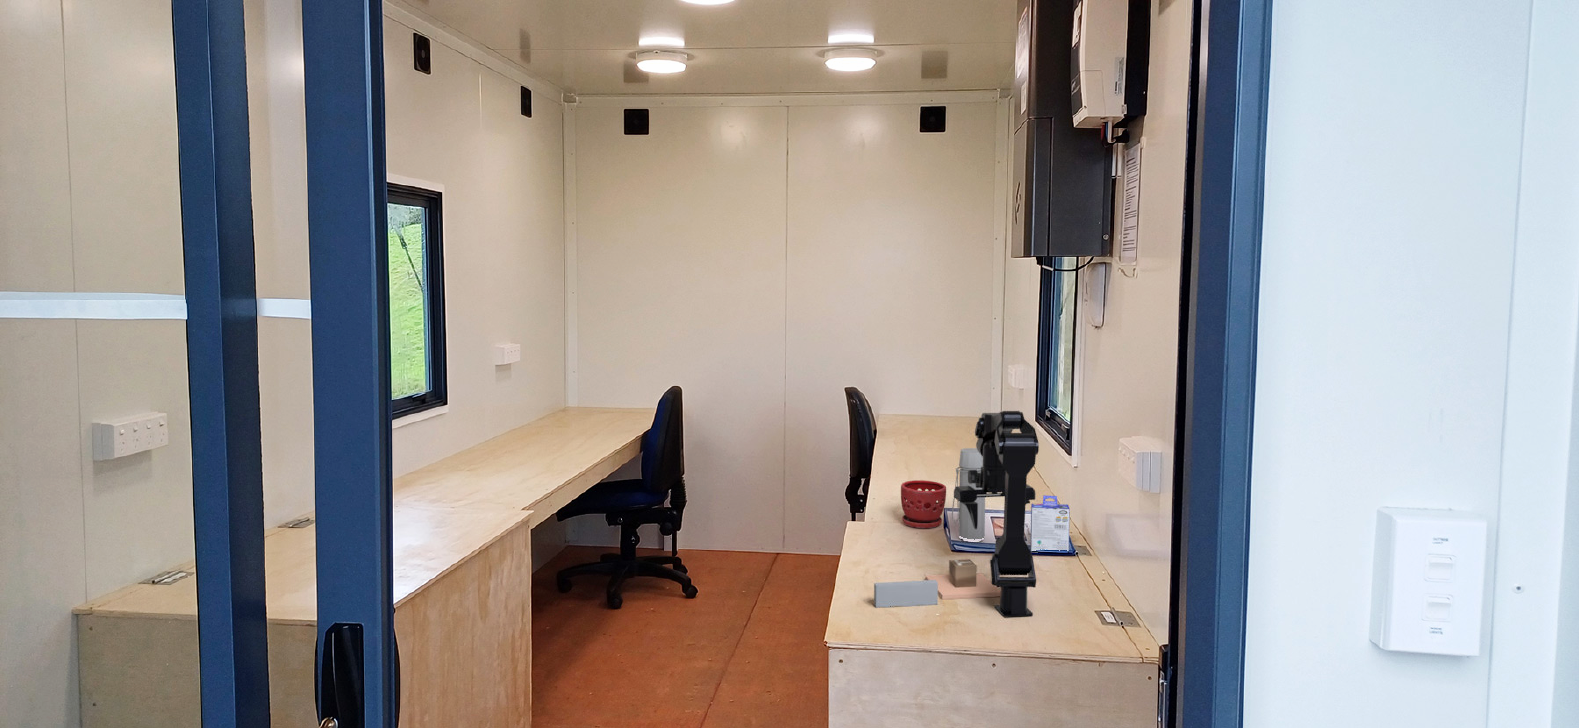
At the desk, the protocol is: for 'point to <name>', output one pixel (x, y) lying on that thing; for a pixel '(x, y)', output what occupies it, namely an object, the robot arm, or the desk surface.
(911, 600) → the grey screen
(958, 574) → the walnut cube
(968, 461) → the water bottle
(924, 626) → the desk surface
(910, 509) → the plant pot
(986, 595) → the mat
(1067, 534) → the ink cartridge box
